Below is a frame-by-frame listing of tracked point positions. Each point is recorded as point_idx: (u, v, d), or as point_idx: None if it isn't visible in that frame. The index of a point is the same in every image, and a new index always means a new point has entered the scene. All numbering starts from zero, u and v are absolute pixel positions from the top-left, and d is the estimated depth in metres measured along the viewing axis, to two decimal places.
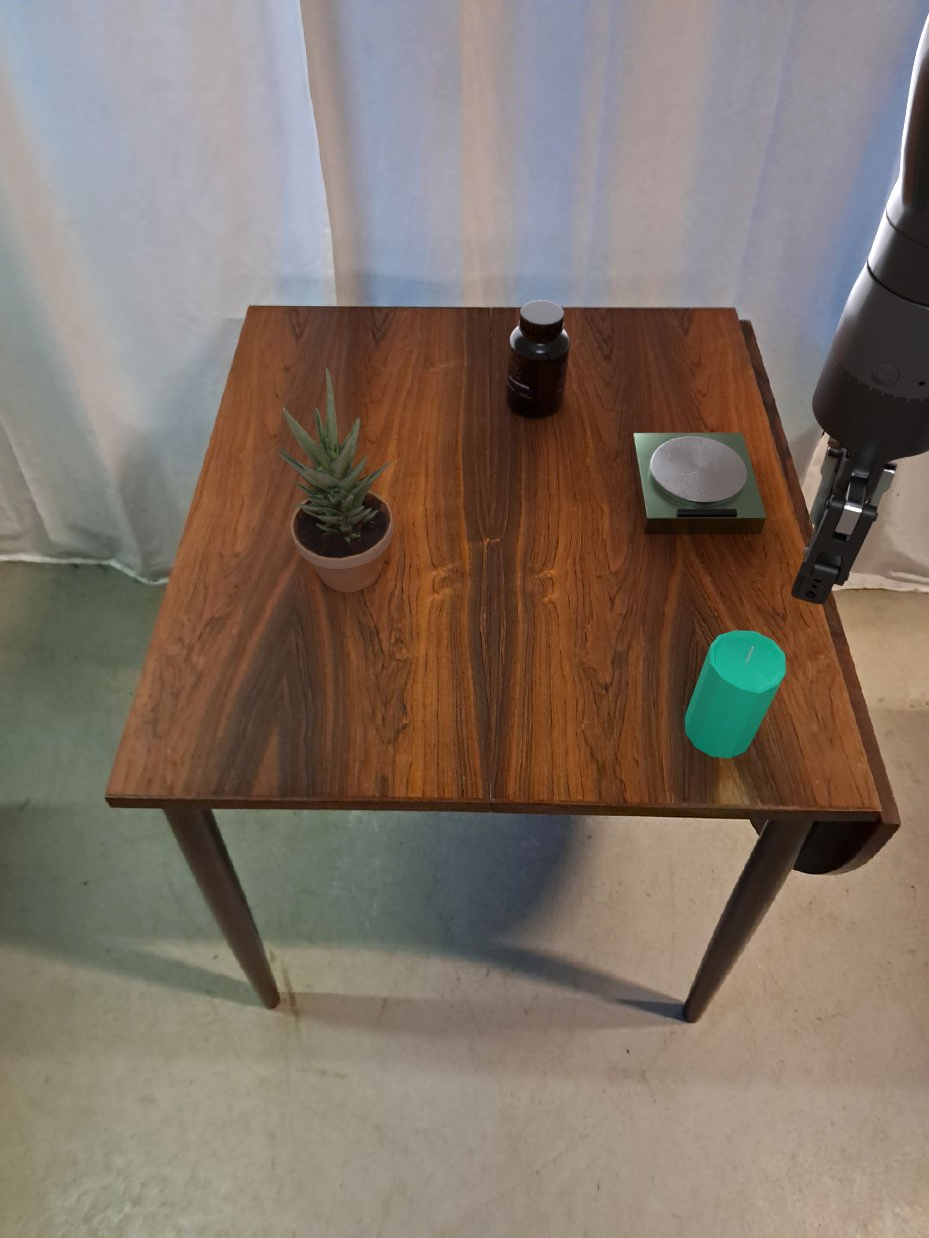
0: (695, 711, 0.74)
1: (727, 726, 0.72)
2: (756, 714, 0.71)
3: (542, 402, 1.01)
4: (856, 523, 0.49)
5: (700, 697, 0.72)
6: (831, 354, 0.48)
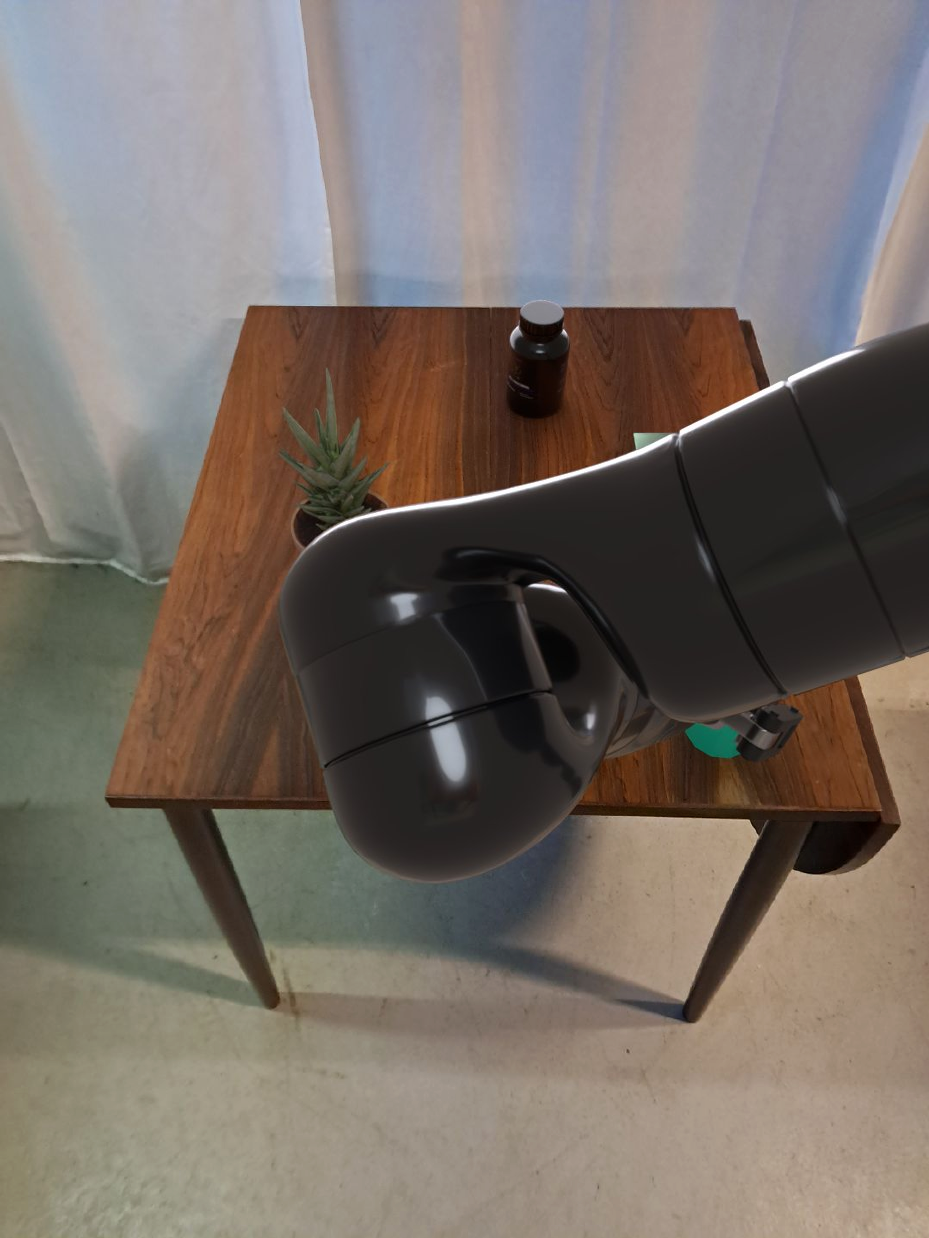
0: None
1: (727, 726, 0.72)
2: None
3: (542, 402, 1.01)
4: None
5: None
6: None
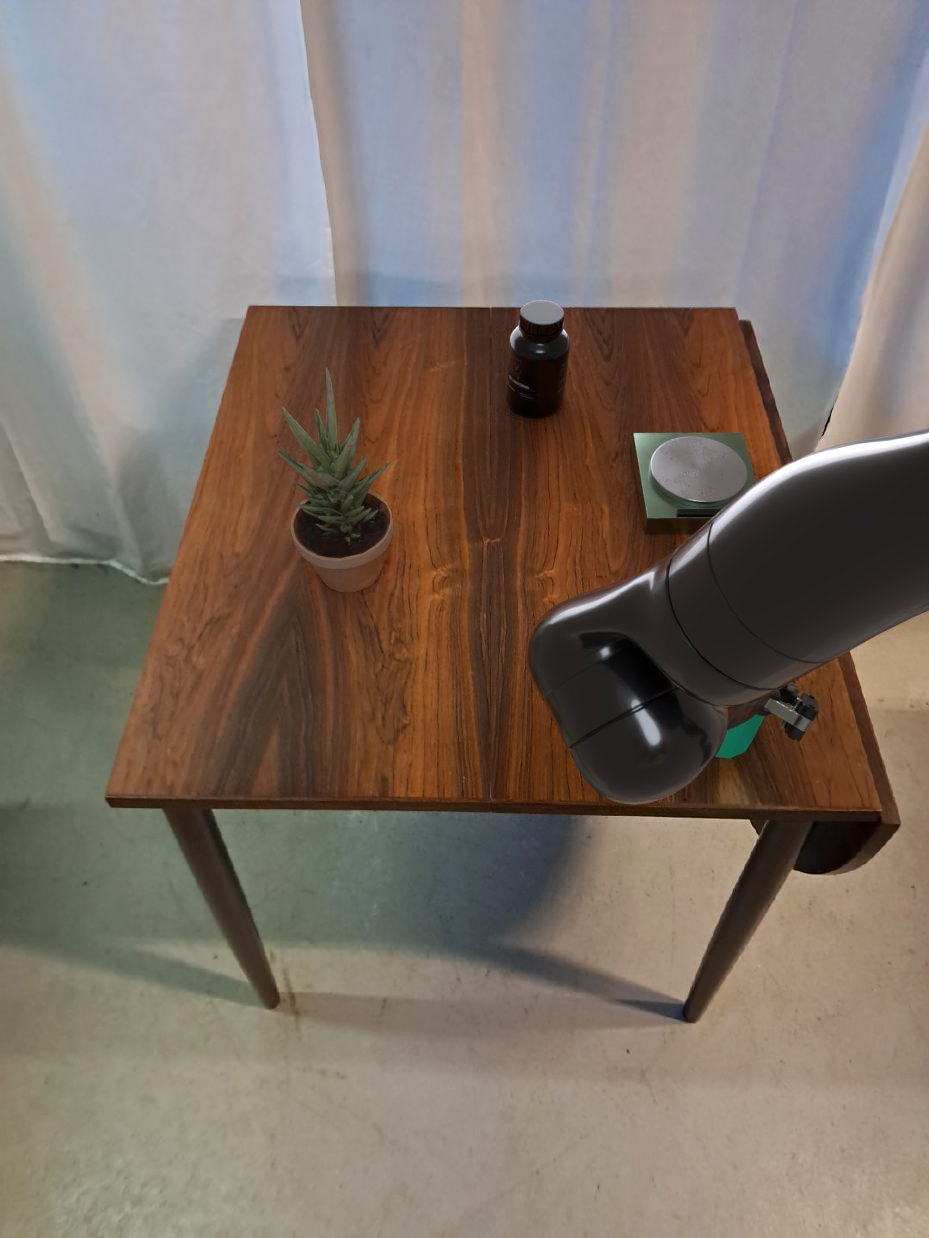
0: None
1: None
2: None
3: (542, 402, 1.01)
4: None
5: None
6: None
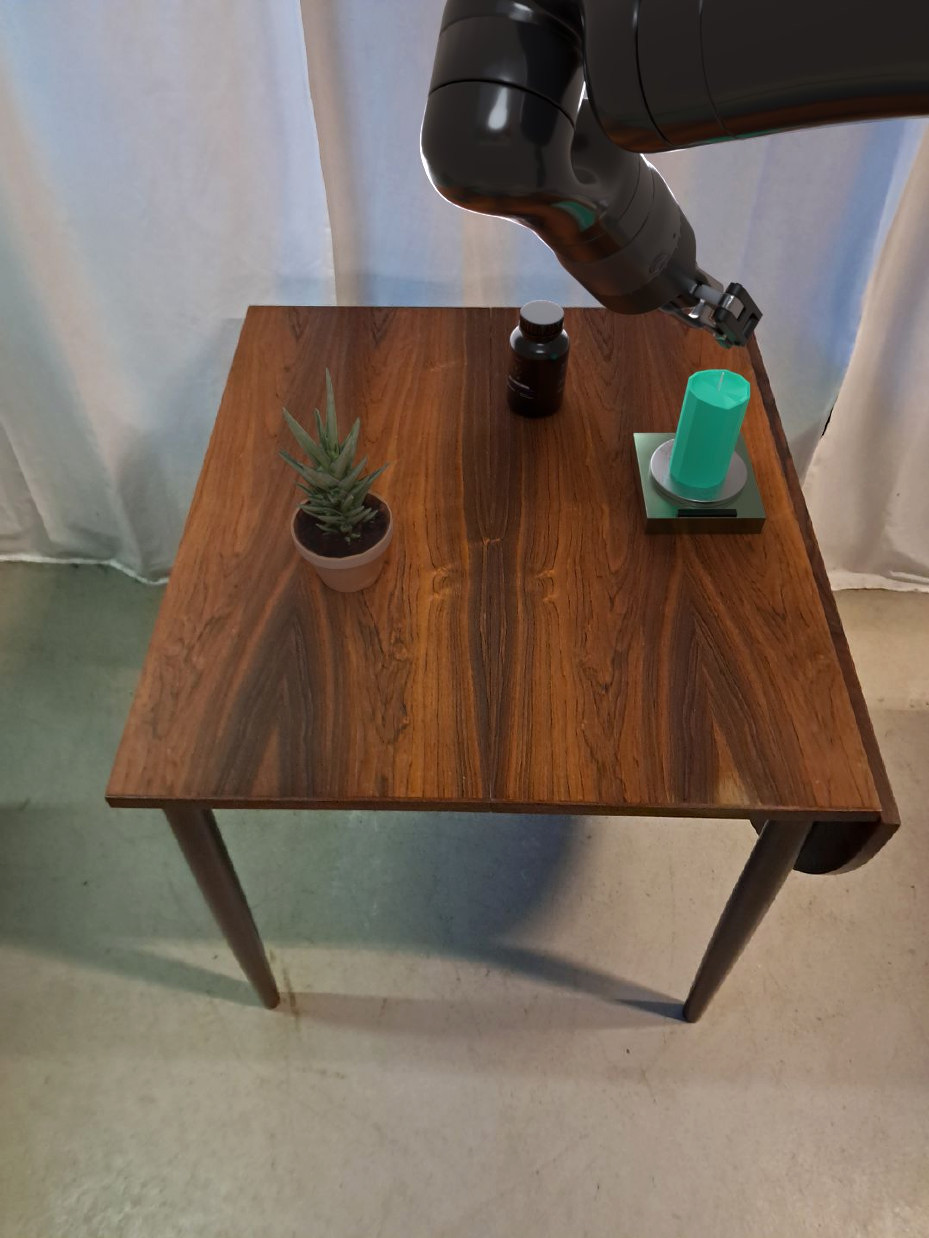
0: (678, 444, 0.90)
1: (703, 450, 0.88)
2: (727, 437, 0.86)
3: (542, 402, 1.01)
4: None
5: (681, 428, 0.88)
6: (607, 297, 0.56)
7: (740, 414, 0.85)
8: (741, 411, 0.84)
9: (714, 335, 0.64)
